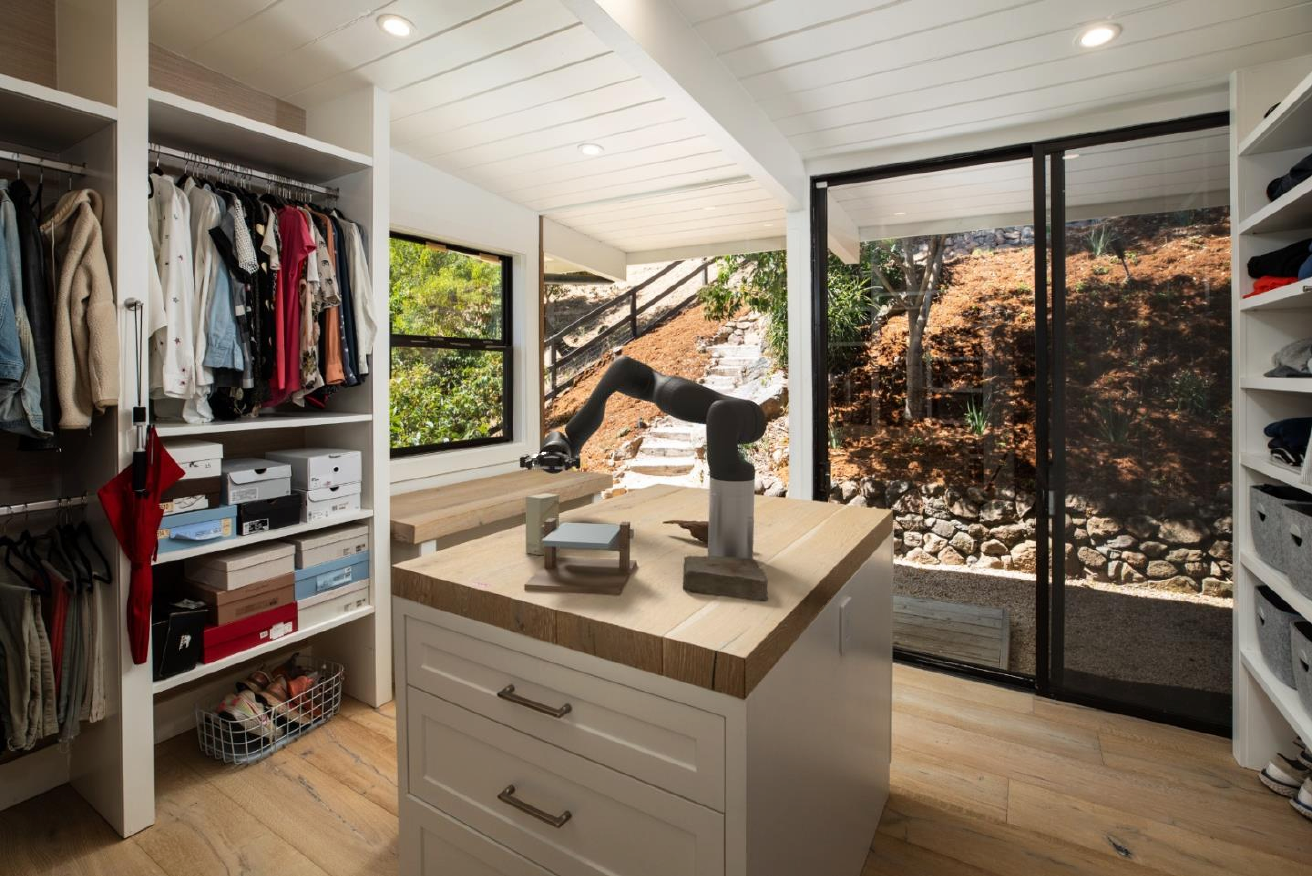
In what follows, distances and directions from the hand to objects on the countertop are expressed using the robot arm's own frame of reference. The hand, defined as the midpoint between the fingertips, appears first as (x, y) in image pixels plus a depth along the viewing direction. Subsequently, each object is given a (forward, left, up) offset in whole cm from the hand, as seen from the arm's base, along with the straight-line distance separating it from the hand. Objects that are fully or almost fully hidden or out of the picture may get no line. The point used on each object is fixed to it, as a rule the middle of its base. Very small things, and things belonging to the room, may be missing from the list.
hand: (547, 465), depth 155 cm
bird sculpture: (-36, -4, -17) cm, 40 cm away
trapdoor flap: (-15, +28, -13) cm, 34 cm away
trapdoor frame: (-15, +28, -17) cm, 36 cm away
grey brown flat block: (-41, +28, -18) cm, 53 cm away
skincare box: (-2, +11, -17) cm, 21 cm away
